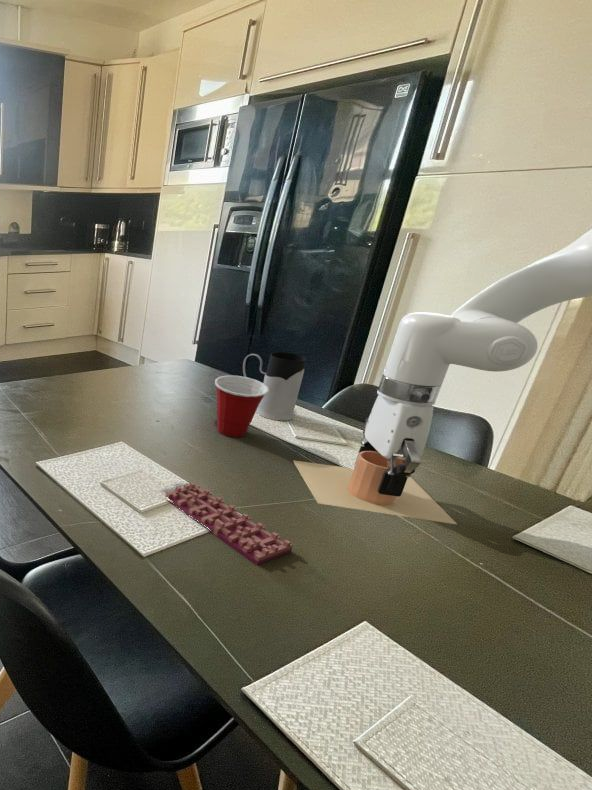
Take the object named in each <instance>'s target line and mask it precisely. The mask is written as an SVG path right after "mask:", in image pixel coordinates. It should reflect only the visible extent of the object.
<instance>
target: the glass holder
mask: <svg viewBox="0 0 592 790" xmlns="http://www.w3.org/2000/svg"><path fill="white" fill-rule="evenodd" d="M250 356H255V357H256V358H257V359H258V360H259V363H260V364H259V372H260V374H263V375H264V377H263V382H262V383H264V384H265V385H266V386H267V387H268V390H269V391H268V393H267V394H265V395H264V397H263V398H262V400H261V402H260V403H259V406H258V408H257V410H256V412H255V414H257V415H258V414H259V415H258V416H260V415H261V416H260V417H262V416H263V417H262V418H265V417H266V418H265V419H268V418H269V419H268V420H272V419H275V420H274V421H278V420H281V421H280V422H284V421H283V420H289V421H292V420H291V419H293V418H294V419H295V414H294V413H295V407H296V403H297V399H298V396H299V392H300V388H301V385H302V381H303V377H304V373H305V366H306V362H307V357H306V356H304V355H301V354H298V353H292V352H286V351H274V352H271V353H270V356H269V360H268V364H267V367H266V372H265V371H263V359H262V357H261V356H260V355H259V354H256V353H250V354H248V355H246V356H245V357H244V359H243V363H242V373H243V377H247V373H246V364H247V363H246V362H247V359H248V358H249V357H250ZM294 419H293V420H294Z"/></svg>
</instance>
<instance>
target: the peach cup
mask: <svg viewBox="0 0 592 790" xmlns="http://www.w3.org/2000/svg"><path fill="white" fill-rule="evenodd" d="M358 453H359V452H358ZM358 453H357V456H358V457H357V456H356V459H357V460H356V459H355V462H356V463H354V467H353V468H354V470H353V473H352V476H351V479H350V482H349V485H348V491H349V492H350V493H351V494H352V495H354V496H355V497H357V498H359V499H361V500H364V501H367V502H370V503H374V504H379V505H390V504H392V503H394V501H395V499H396V497H397V496H390V495H383V494H379V492H378V488H379V485H380V482H381V479H382V476H383V474H384V472H388V470H387V459H386V458H385V457H383V456H382V455H381V454H380V453H379V452H376V451H362V452H360V453H359V454H358ZM400 464H402V465H403V462H398V461H395V467H397V466H398V465H400Z"/></svg>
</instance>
